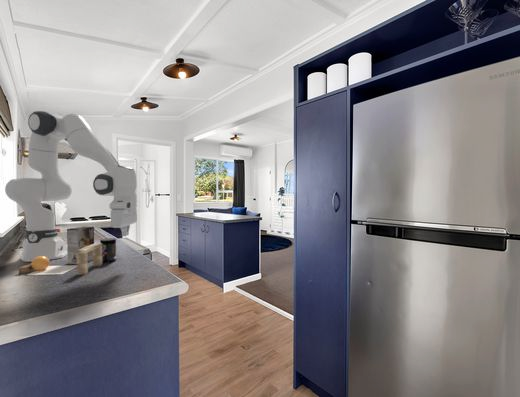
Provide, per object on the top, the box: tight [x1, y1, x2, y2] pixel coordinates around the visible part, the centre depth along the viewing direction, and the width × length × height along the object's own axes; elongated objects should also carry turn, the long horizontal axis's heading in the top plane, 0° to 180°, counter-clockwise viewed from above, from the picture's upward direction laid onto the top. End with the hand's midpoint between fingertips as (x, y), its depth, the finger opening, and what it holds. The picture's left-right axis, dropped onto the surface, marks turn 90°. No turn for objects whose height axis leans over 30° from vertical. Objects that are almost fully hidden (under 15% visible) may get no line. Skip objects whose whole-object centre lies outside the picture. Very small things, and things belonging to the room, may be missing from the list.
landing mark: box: [26, 264, 77, 276], centre depth 114 cm, size 13×13×1 cm
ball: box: [30, 256, 51, 271], centre depth 114 cm, size 6×6×6 cm
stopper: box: [18, 263, 35, 275], centre depth 114 cm, size 11×2×2 cm, turn 7°
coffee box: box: [66, 226, 95, 265], centre depth 128 cm, size 9×6×16 cm
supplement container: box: [99, 237, 117, 264], centre depth 130 cm, size 7×7×10 cm
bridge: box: [76, 242, 103, 276], centre depth 116 cm, size 3×15×10 cm, turn 7°
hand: (125, 235), depth 117 cm, fingers closed
